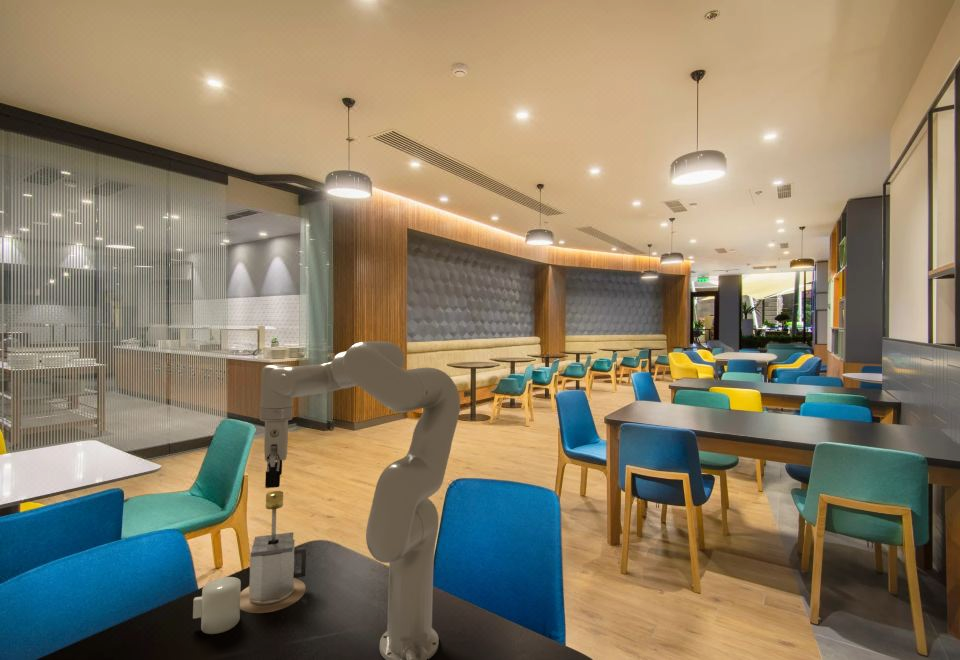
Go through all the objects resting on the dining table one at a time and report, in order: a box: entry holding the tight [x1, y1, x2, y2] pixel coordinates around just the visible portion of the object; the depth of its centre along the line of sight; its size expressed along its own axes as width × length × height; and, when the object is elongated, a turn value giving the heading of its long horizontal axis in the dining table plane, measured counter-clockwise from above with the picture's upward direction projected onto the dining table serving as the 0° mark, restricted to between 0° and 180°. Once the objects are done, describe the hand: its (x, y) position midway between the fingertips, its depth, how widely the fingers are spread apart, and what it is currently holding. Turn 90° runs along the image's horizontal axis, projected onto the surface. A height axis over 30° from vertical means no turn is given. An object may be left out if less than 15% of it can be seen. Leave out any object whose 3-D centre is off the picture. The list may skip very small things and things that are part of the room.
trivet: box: [240, 578, 307, 614], centre depth 116 cm, size 16×16×1 cm
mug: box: [192, 576, 242, 635], centre depth 104 cm, size 8×9×9 cm
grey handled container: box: [248, 531, 307, 606], centre depth 117 cm, size 10×13×13 cm
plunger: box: [265, 490, 284, 544], centre depth 116 cm, size 8×8×18 cm
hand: (273, 480), depth 117 cm, fingers open, 9 cm apart
